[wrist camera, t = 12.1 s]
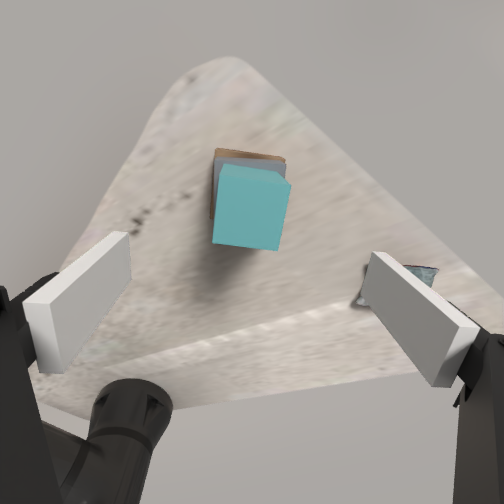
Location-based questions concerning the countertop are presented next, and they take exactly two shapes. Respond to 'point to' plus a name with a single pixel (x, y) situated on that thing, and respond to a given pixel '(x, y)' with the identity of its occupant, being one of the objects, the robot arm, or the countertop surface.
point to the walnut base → (237, 154)
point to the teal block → (250, 207)
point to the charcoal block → (245, 162)
